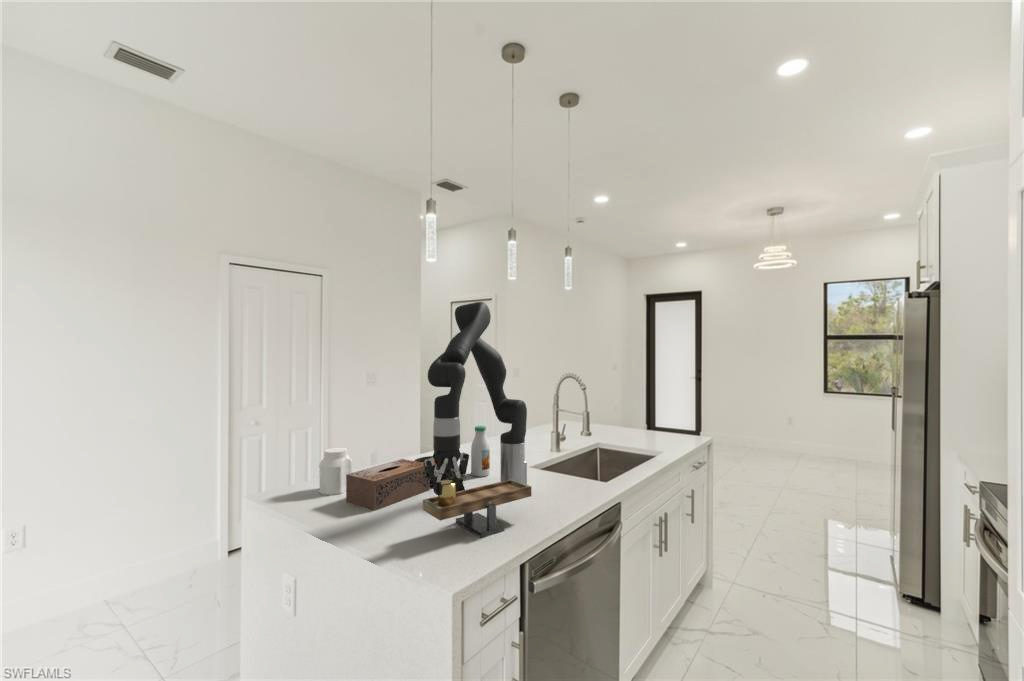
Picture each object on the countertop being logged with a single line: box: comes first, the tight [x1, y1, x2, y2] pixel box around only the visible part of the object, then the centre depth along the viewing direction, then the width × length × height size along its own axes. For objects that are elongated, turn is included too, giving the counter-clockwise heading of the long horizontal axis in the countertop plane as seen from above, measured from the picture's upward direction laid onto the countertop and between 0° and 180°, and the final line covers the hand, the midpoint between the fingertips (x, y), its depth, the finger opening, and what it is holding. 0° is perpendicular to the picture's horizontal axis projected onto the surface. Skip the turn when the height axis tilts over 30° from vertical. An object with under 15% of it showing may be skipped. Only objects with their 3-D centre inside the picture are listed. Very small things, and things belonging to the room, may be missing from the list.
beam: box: [422, 479, 532, 522], centre depth 138 cm, size 32×10×3 cm, turn 128°
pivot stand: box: [455, 504, 505, 538], centre depth 138 cm, size 8×14×8 cm, turn 38°
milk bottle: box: [470, 425, 491, 478], centre depth 194 cm, size 8×8×20 cm
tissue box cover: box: [345, 458, 431, 512], centre depth 166 cm, size 26×14×10 cm, turn 147°
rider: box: [437, 480, 456, 507], centre depth 132 cm, size 5×5×6 cm
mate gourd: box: [445, 472, 466, 492], centre depth 161 cm, size 7×8×10 cm
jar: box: [318, 447, 353, 496], centre depth 173 cm, size 12×10×15 cm
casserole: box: [413, 455, 465, 486], centre depth 185 cm, size 25×19×8 cm
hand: (446, 492), depth 132 cm, fingers closed on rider, 5 cm apart
